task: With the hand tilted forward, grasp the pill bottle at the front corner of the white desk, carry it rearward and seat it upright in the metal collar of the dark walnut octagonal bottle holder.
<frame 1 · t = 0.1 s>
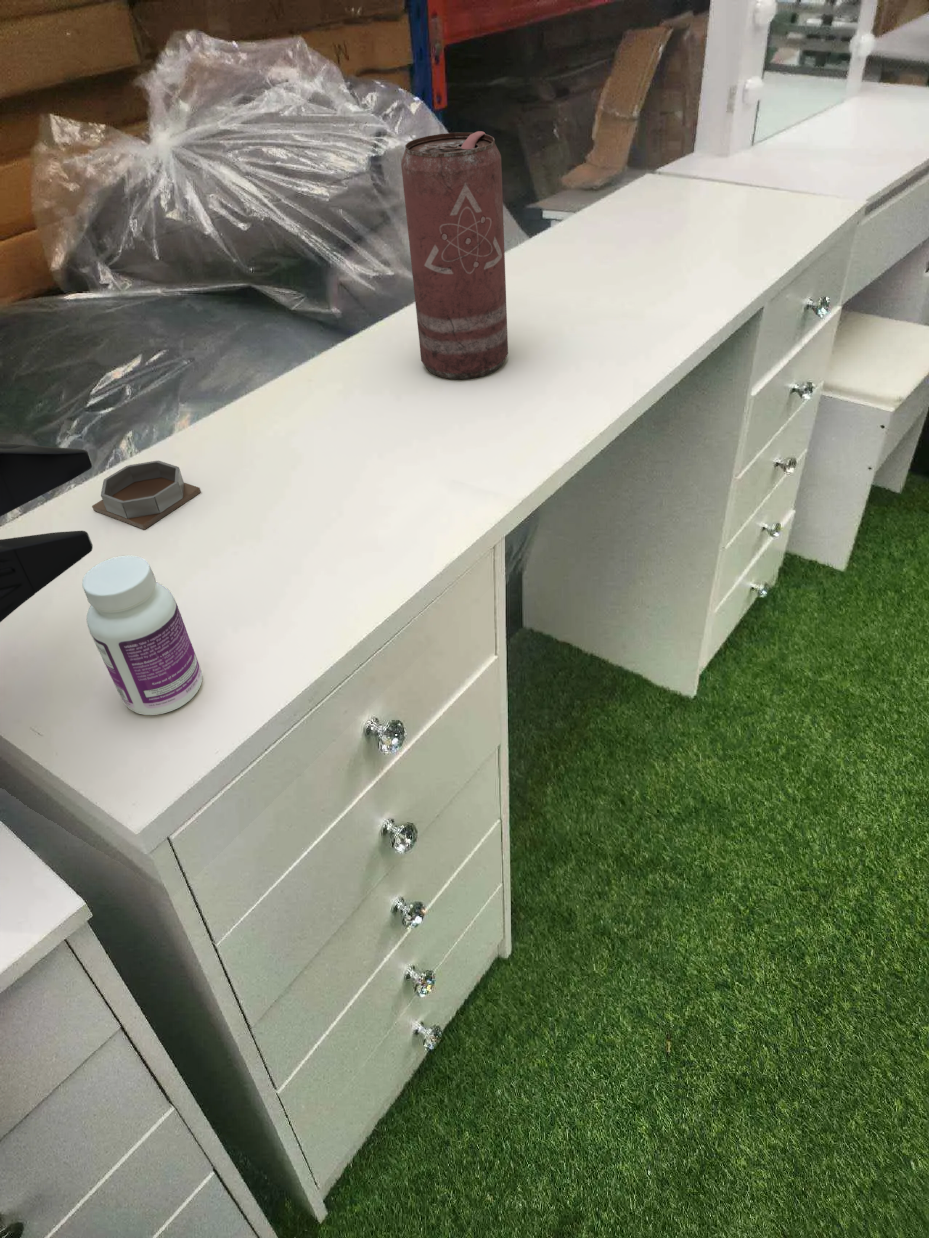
hand: (90, 496, 48), 15 cm above the table, tool horizontal, fingers open, 9 cm apart
octagonal bottle holder: (147, 501, 76), on the table
pill bottle: (164, 691, 58), on the table
can: (466, 363, 95), on the table
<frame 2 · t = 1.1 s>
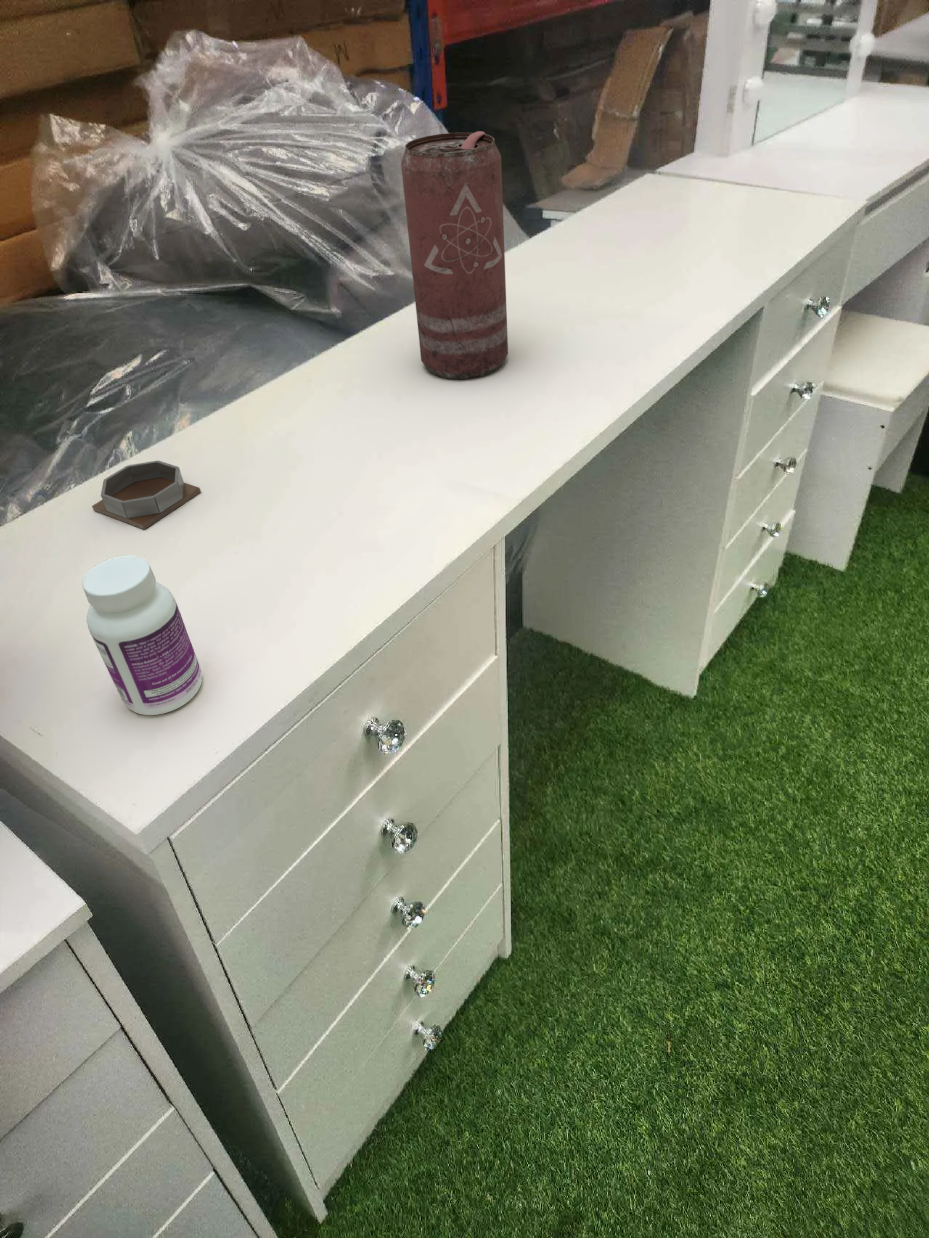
nothing on the table moved.
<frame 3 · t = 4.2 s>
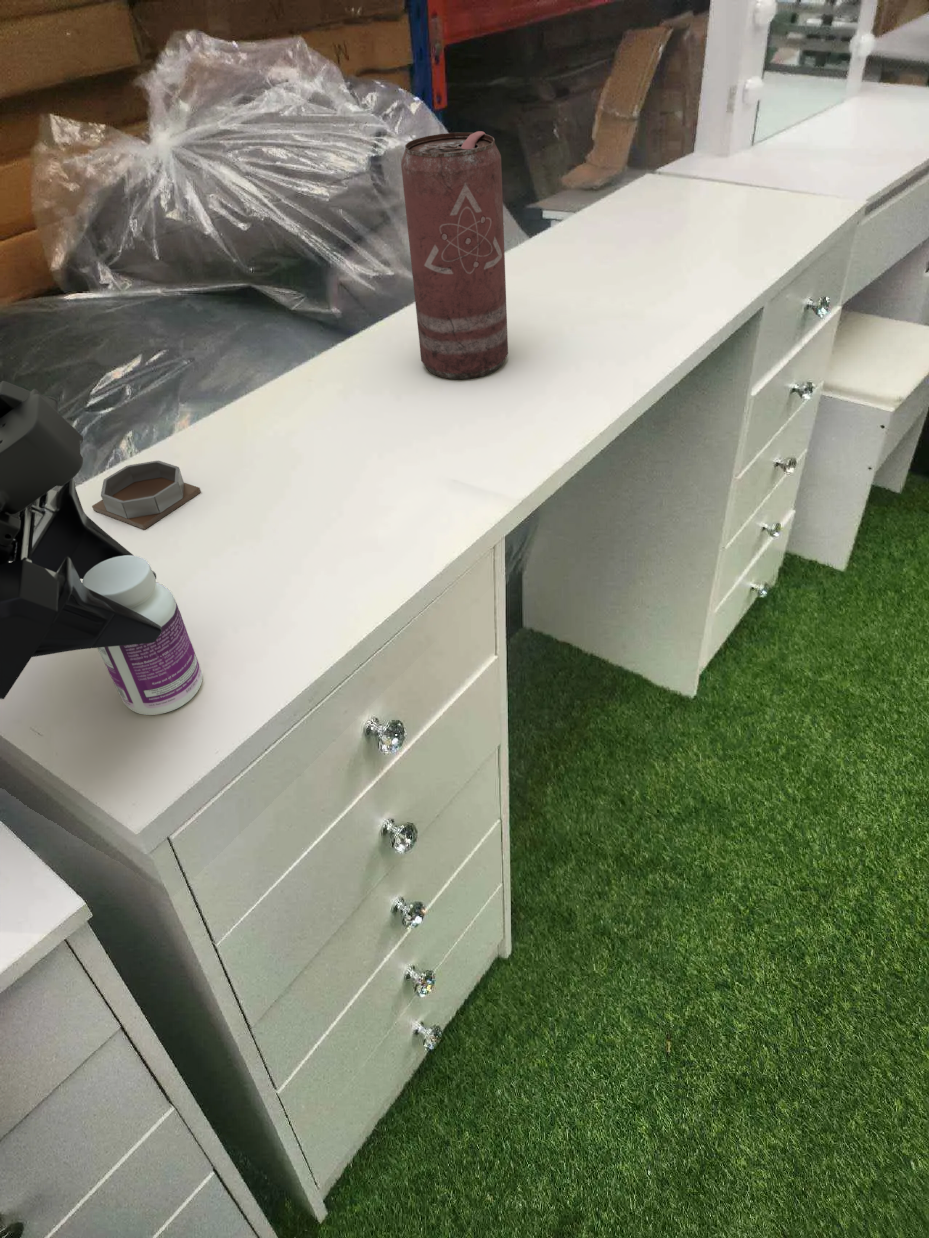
hand: (155, 607, 54), 7 cm above the table, tool tilted 45°, fingers closed on pill bottle, 5 cm apart
pill bottle: (164, 691, 58), on the table, touching gripper
everything else where it was.
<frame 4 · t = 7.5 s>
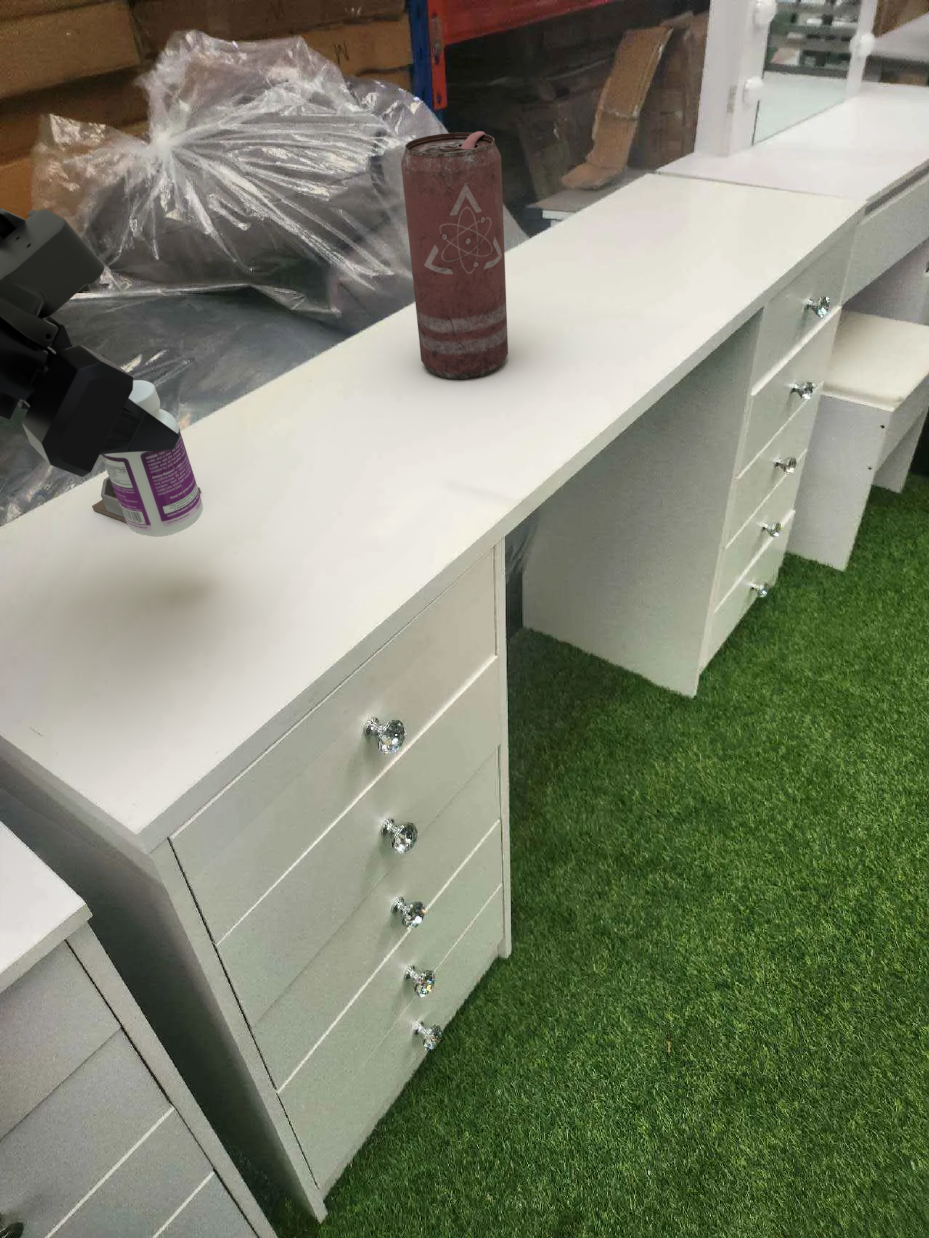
hand: (158, 428, 58), 13 cm above the table, tool tilted 45°, fingers closed on pill bottle, 5 cm apart
pill bottle: (167, 520, 62), point 6 cm above the table, touching gripper
everything else where it was.
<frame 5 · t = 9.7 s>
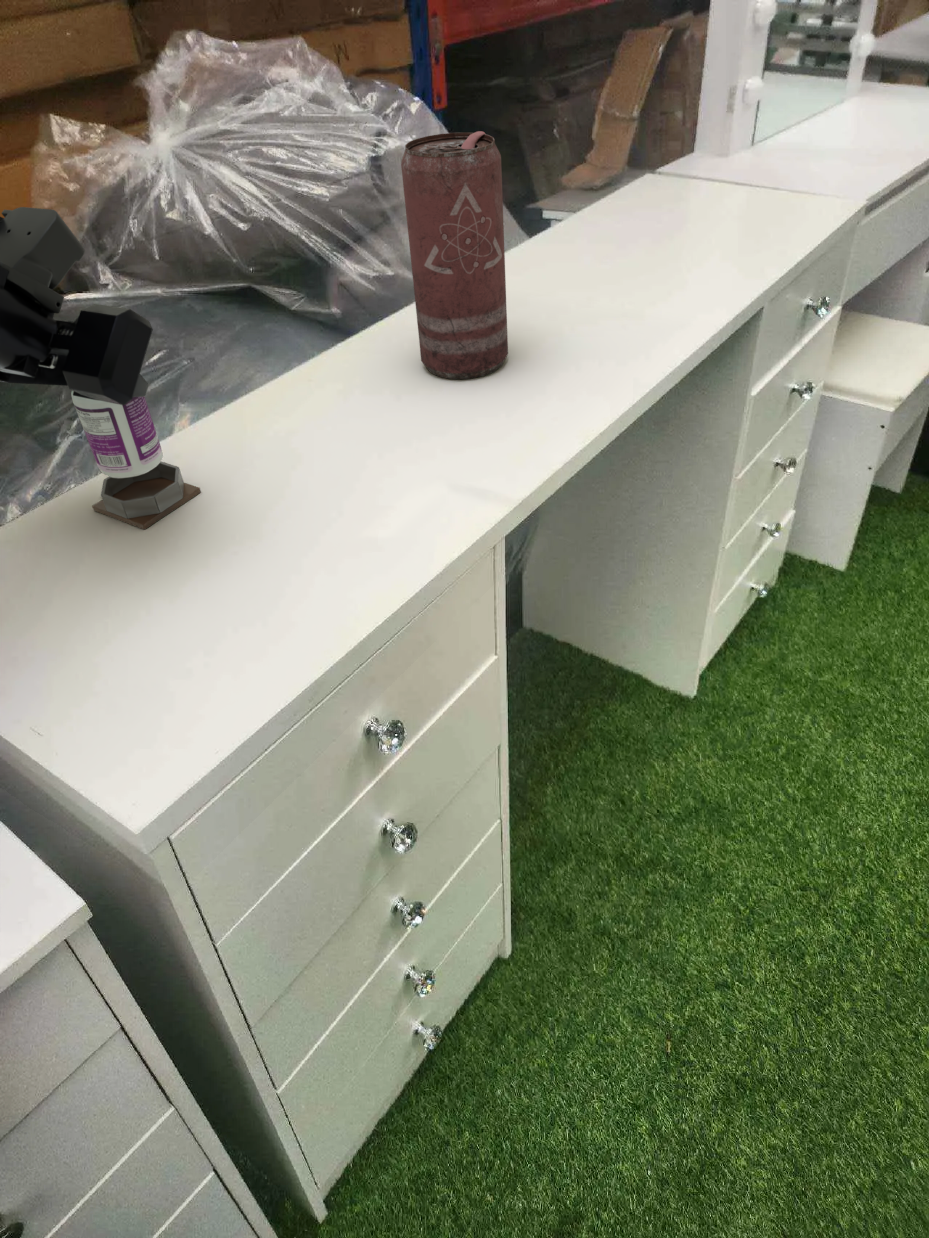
hand: (119, 385, 71), 10 cm above the table, tool tilted 45°, fingers closed on pill bottle, 5 cm apart
pill bottle: (132, 466, 74), point 4 cm above the table, touching gripper
everything else where it was.
when the fingers open (7 cm above the table, at t = 11.2 s): pill bottle stays where it is, resting on octagonal bottle holder.
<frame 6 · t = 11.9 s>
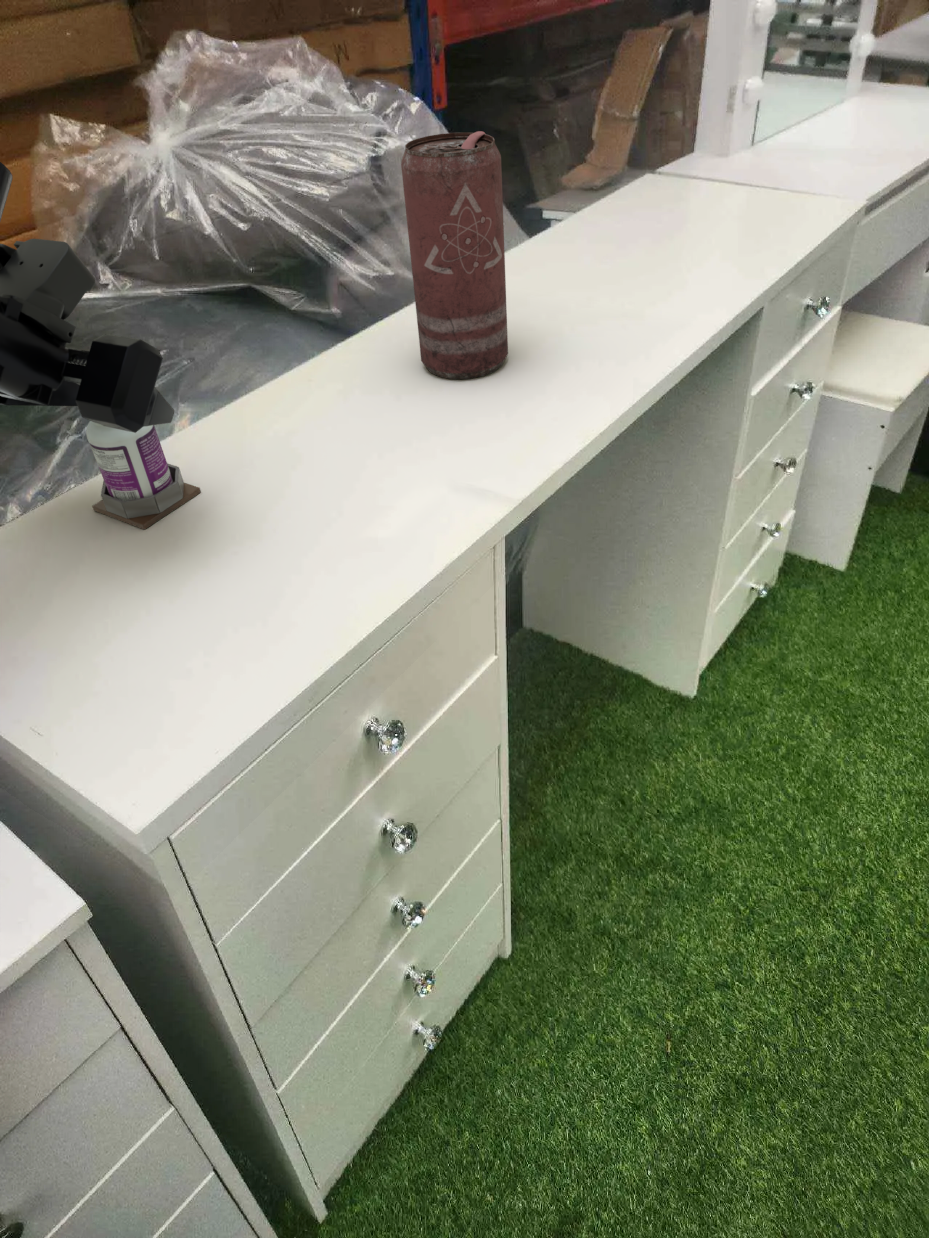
hand: (129, 408, 72), 8 cm above the table, tool tilted 45°, fingers open, 9 cm apart
pill bottle: (145, 499, 76), resting on octagonal bottle holder
everything else where it was.
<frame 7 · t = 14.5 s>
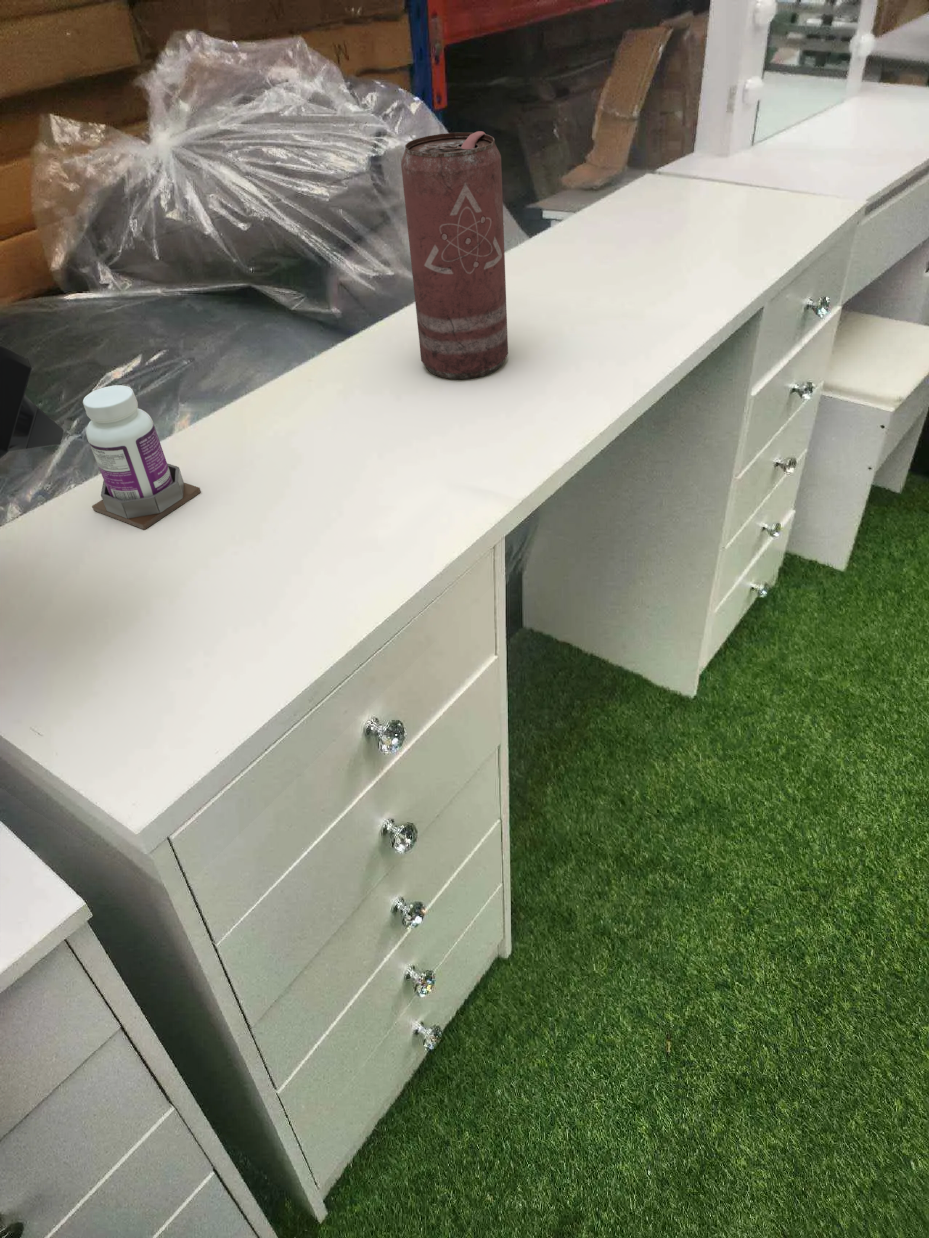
hand: (12, 426, 61), 13 cm above the table, tool tilted 45°, fingers open, 9 cm apart
nothing on the table moved.
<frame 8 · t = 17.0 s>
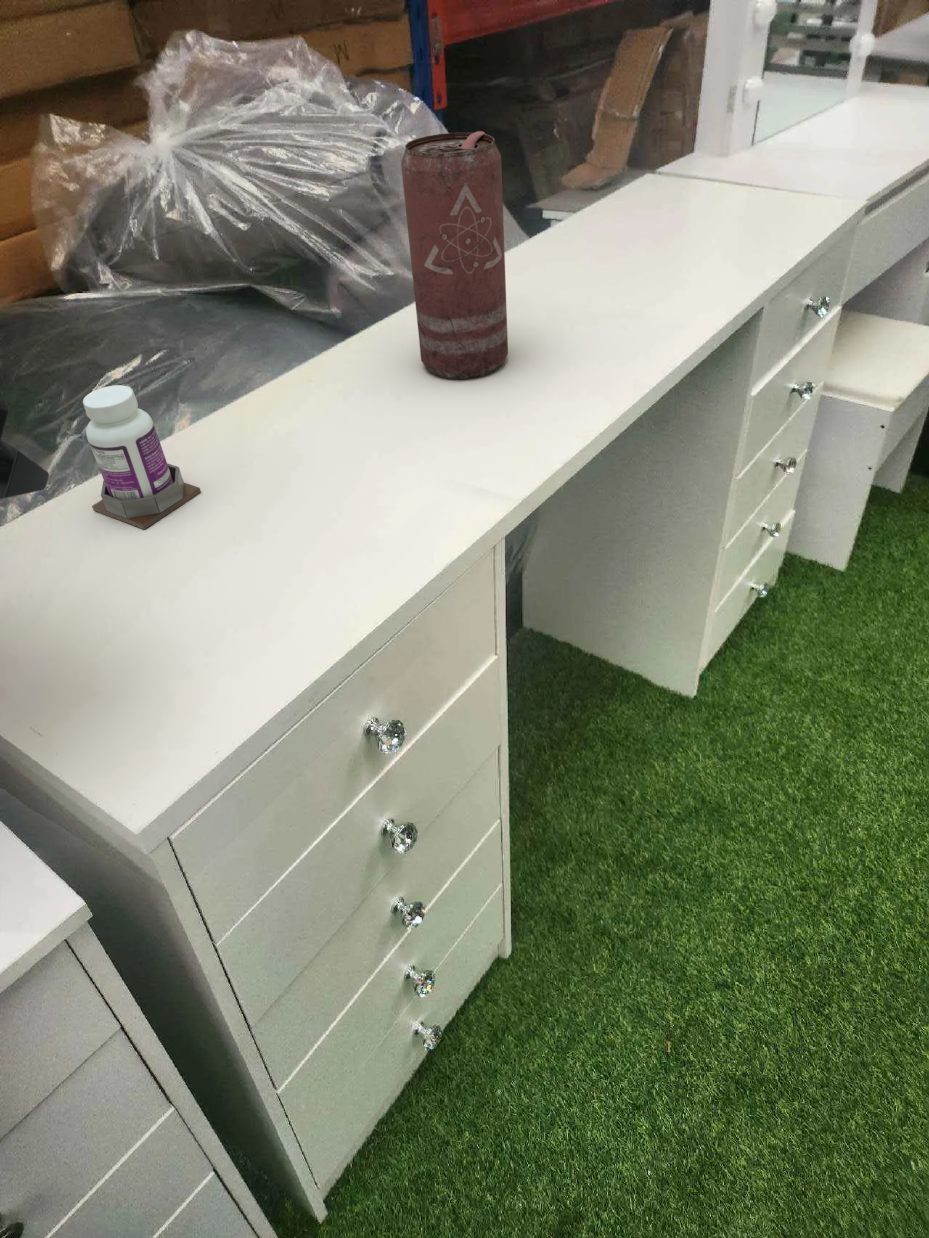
nothing on the table moved.
at the end: pill bottle 0.1 cm off-centre on the octagonal bottle holder, point 0.3 cm above the octagonal bottle holder's base; pill bottle tilted 0°; the gripper is holding nothing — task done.
